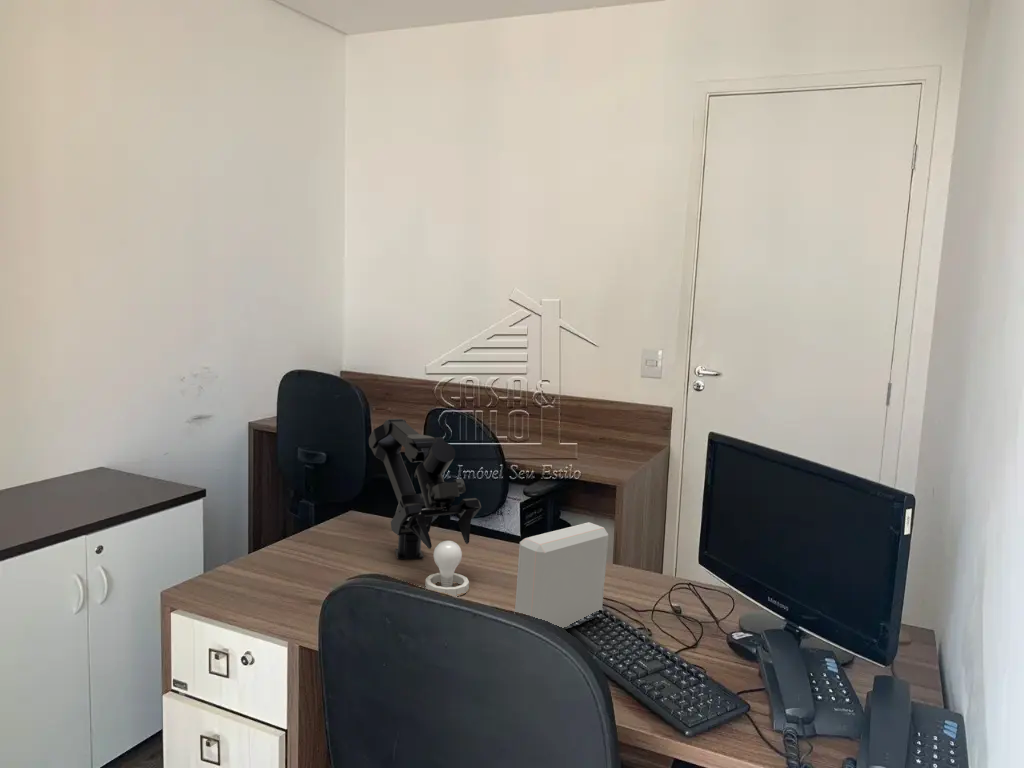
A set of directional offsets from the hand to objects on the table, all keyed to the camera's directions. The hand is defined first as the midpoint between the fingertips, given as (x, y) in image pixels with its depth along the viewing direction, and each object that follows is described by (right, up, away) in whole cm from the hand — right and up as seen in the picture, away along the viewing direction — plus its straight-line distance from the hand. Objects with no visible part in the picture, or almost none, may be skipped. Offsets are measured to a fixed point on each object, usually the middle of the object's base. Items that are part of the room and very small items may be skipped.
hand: (449, 545), depth 169 cm
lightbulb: (-1, -10, +2) cm, 10 cm away
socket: (-1, -10, +1) cm, 10 cm away
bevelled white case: (+23, -14, -13) cm, 30 cm away
